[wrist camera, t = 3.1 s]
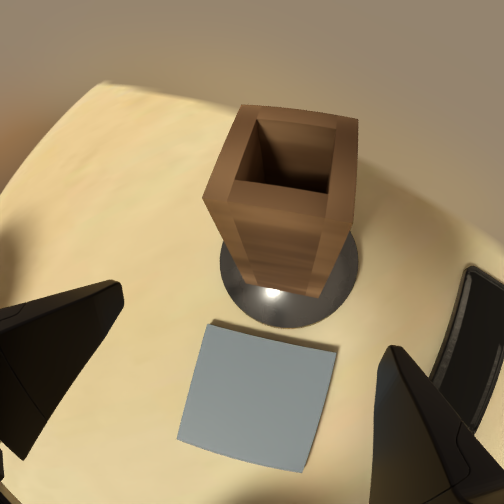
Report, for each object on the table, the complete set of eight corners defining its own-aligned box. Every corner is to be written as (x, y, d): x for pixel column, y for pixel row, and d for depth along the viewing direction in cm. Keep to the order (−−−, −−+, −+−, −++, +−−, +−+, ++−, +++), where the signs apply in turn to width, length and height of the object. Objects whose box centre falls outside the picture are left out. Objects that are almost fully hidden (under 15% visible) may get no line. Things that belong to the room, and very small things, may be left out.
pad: (301, 470, 16) (301, 472, 16) (179, 437, 18) (176, 439, 18) (335, 353, 20) (336, 352, 19) (209, 324, 22) (207, 323, 21)
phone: (410, 424, 16) (468, 261, 20) (405, 421, 17) (462, 265, 21) (470, 443, 14) (518, 294, 18) (464, 441, 15) (512, 297, 19)
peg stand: (343, 341, 20) (355, 336, 16) (206, 310, 22) (190, 300, 18) (361, 215, 24) (371, 190, 20) (242, 194, 26) (234, 167, 22)
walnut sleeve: (318, 298, 20) (352, 223, 9) (245, 283, 22) (202, 198, 10) (329, 231, 22) (358, 119, 11) (262, 219, 23) (241, 104, 12)
